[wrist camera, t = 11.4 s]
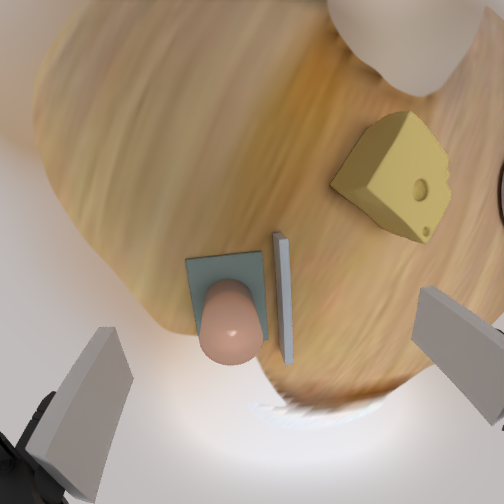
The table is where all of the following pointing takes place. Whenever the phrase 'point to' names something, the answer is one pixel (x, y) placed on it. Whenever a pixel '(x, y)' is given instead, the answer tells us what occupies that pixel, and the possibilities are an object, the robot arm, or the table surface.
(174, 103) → the table surface
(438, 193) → the cheese
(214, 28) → the table surface
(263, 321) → the mat
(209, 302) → the pink rounded cylinder
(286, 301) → the divider wall
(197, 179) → the table surface
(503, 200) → the planter
